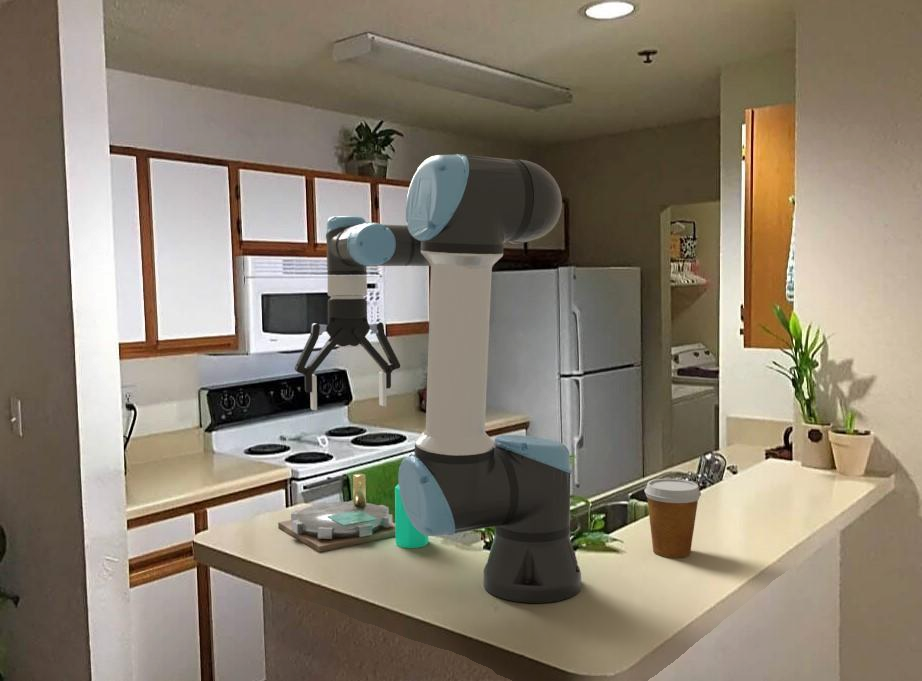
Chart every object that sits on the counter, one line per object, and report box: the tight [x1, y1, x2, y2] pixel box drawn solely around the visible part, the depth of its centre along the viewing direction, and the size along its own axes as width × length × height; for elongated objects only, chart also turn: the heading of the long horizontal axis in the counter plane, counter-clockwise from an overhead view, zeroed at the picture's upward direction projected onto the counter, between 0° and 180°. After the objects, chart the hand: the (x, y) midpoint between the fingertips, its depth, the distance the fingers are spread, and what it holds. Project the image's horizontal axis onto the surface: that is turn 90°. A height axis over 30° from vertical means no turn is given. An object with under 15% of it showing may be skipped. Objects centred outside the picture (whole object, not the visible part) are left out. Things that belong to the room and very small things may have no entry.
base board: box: [277, 519, 396, 553], centre depth 158 cm, size 18×18×1 cm
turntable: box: [290, 473, 393, 539], centre depth 158 cm, size 19×19×8 cm
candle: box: [394, 483, 429, 549], centre depth 151 cm, size 6×6×12 cm
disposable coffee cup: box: [644, 478, 702, 559], centre depth 145 cm, size 10×10×12 cm
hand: (348, 407), depth 162 cm, fingers open, 13 cm apart
